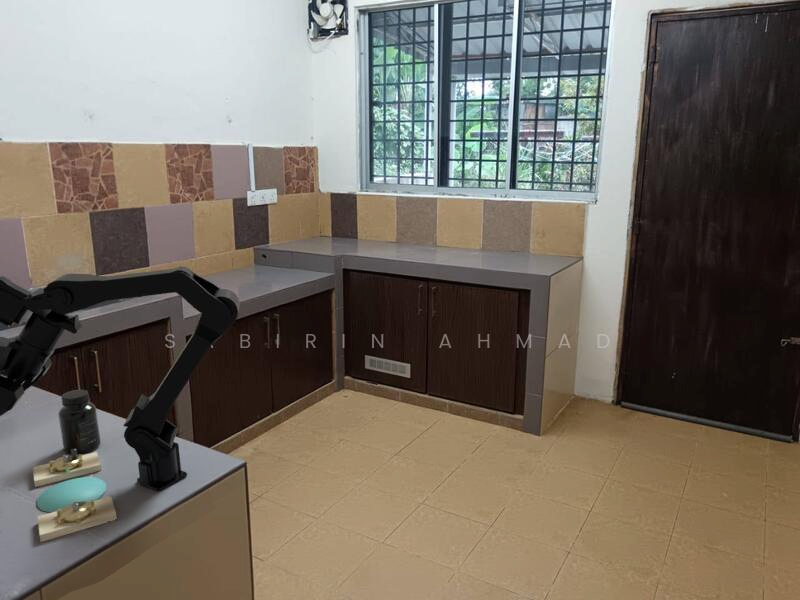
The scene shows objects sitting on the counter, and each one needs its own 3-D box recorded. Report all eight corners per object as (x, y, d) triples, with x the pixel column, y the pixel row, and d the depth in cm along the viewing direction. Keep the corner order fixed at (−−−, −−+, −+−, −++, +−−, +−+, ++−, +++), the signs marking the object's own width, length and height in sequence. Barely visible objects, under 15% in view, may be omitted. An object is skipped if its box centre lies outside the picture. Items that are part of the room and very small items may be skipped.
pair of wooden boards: (33, 472, 116) (32, 467, 116) (97, 457, 122) (96, 451, 122) (40, 542, 96) (39, 535, 95) (116, 519, 101) (115, 513, 101)
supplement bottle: (56, 451, 124) (47, 396, 122) (86, 437, 130) (79, 385, 127) (78, 459, 121) (69, 403, 118) (108, 444, 127) (101, 390, 124)
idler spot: (35, 489, 111) (35, 488, 110) (102, 472, 116) (102, 471, 116) (38, 519, 102) (38, 518, 101) (110, 499, 107) (110, 498, 107)
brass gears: (49, 463, 117) (47, 448, 117) (81, 455, 120) (79, 441, 120) (59, 529, 97) (56, 512, 96) (97, 518, 100) (95, 502, 99)
